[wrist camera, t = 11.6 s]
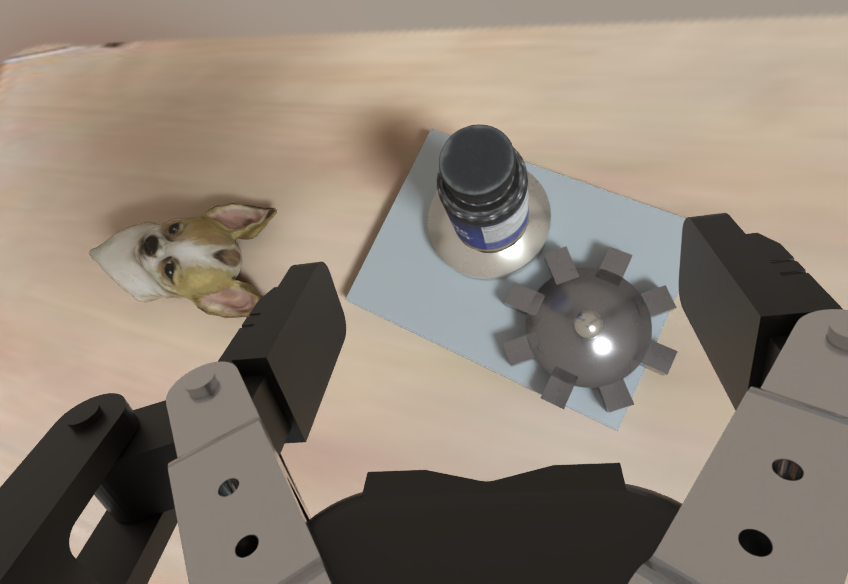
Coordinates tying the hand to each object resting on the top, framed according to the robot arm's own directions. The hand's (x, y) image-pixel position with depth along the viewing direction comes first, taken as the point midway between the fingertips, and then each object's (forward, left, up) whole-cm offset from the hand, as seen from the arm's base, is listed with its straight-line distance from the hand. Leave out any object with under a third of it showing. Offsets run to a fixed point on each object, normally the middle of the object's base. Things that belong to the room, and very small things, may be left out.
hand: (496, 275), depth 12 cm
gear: (-3, -4, -30) cm, 30 cm away
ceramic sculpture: (+30, +4, -32) cm, 44 cm away
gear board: (+4, -7, -31) cm, 32 cm away
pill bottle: (+7, -9, -29) cm, 31 cm away
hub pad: (+8, -9, -30) cm, 32 cm away
